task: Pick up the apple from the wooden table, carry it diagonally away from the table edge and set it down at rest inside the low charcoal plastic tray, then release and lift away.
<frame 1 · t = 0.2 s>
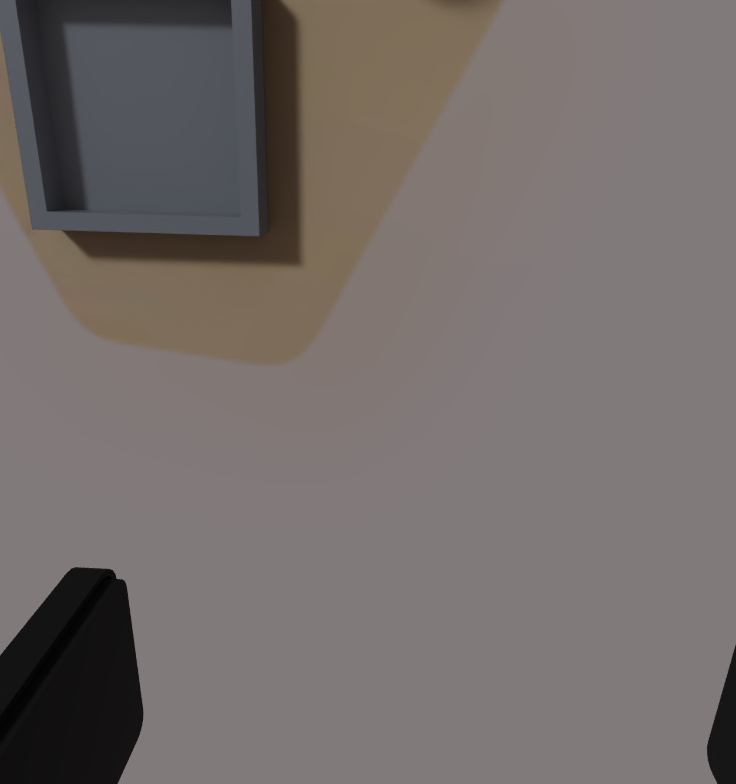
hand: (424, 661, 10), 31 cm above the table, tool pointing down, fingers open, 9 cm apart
tray: (151, 110, 36), on the table
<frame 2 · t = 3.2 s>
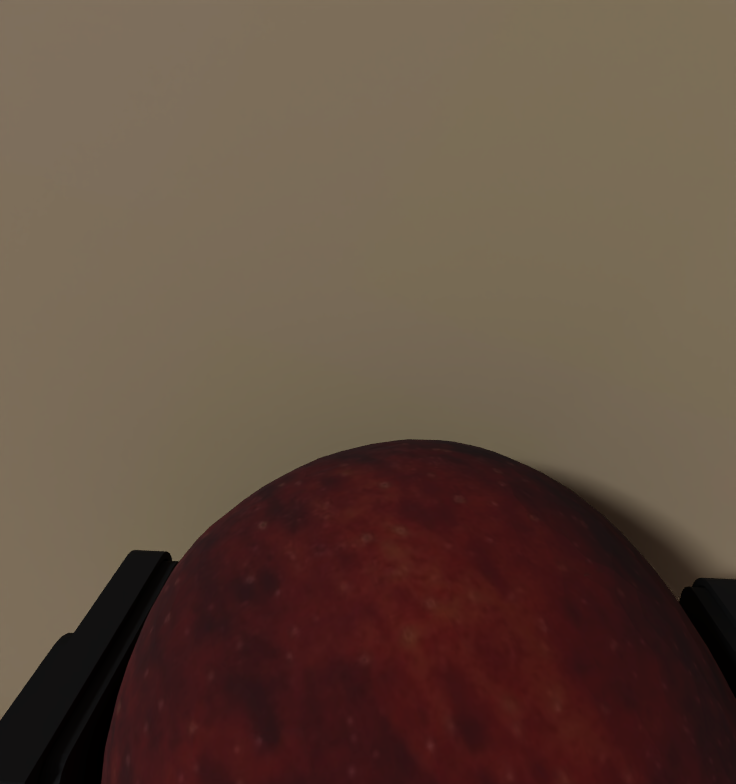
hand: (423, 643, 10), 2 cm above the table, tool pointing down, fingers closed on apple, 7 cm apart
apple: (412, 560, 12), on the table, touching gripper
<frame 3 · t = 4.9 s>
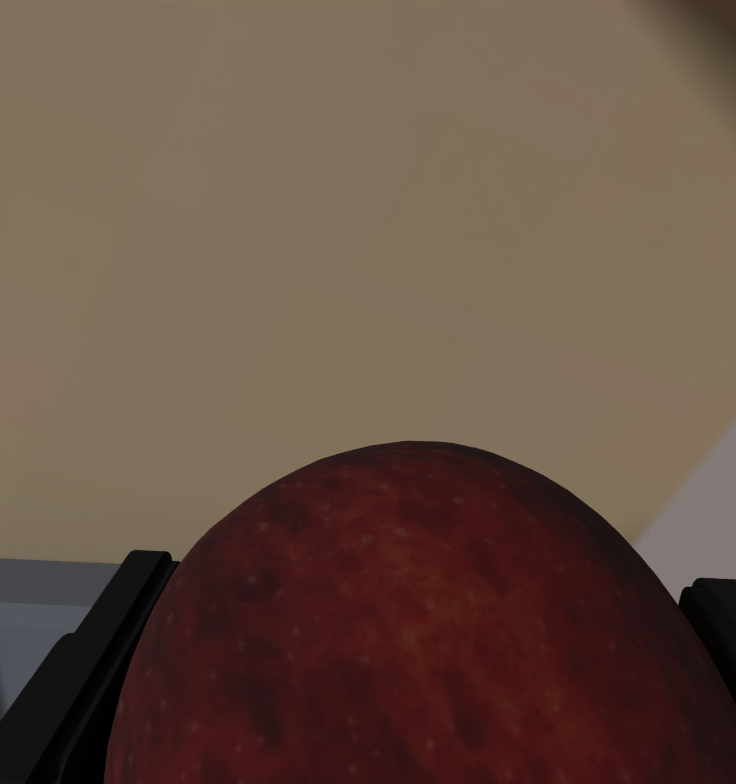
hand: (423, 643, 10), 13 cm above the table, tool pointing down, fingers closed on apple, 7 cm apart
apple: (412, 560, 12), point 11 cm above the table, touching gripper
tray: (107, 695, 27), on the table
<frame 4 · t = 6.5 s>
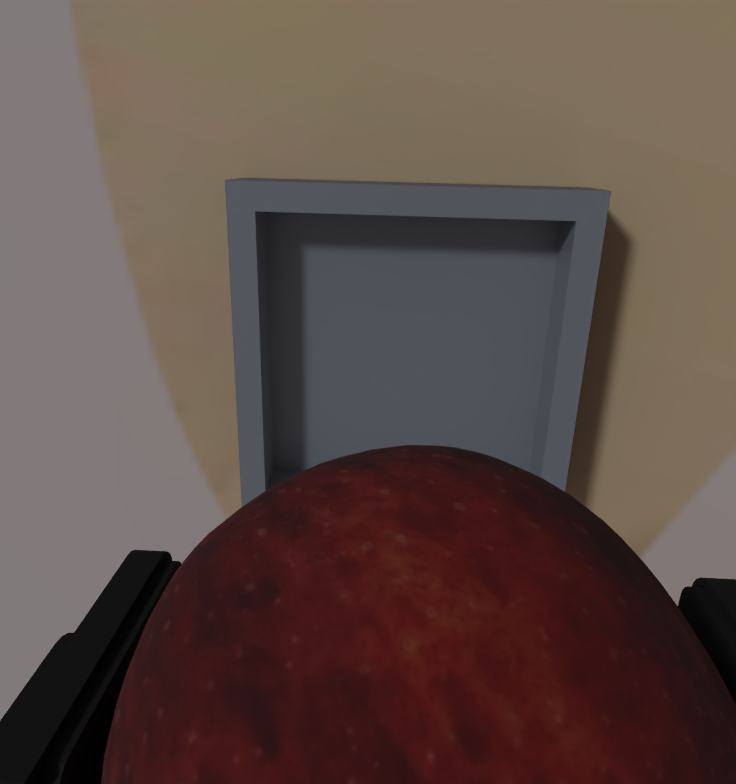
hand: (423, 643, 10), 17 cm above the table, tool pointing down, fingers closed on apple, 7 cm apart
apple: (412, 564, 12), point 15 cm above the table, touching gripper
tray: (406, 348, 26), on the table
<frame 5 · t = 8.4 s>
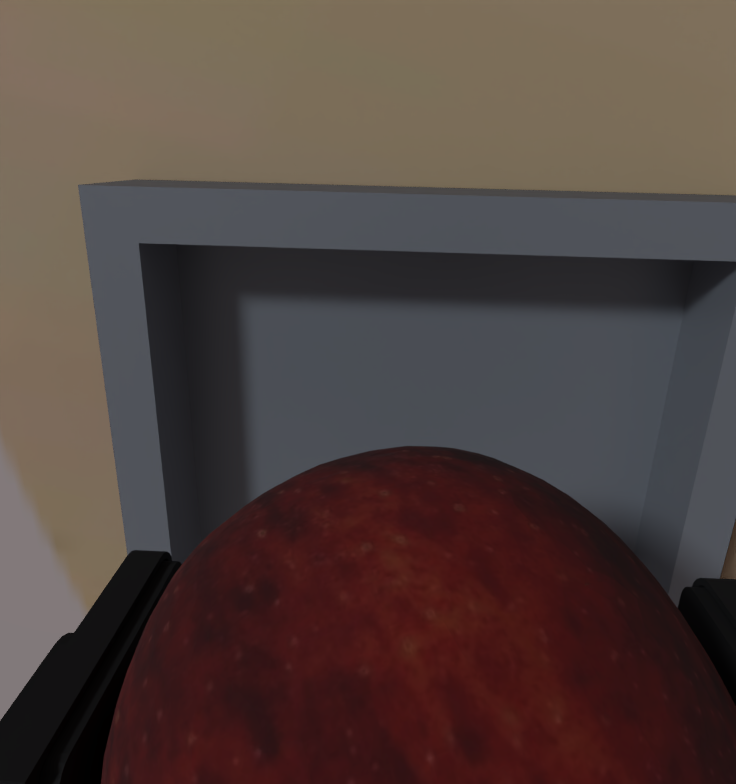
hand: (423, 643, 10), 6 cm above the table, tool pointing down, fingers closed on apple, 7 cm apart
apple: (412, 564, 12), point 4 cm above the table, touching gripper
tray: (417, 459, 16), on the table
when the fingers open (4 cm above the table, at t = 9.6 s): apple drops 1 cm, resting on tray.
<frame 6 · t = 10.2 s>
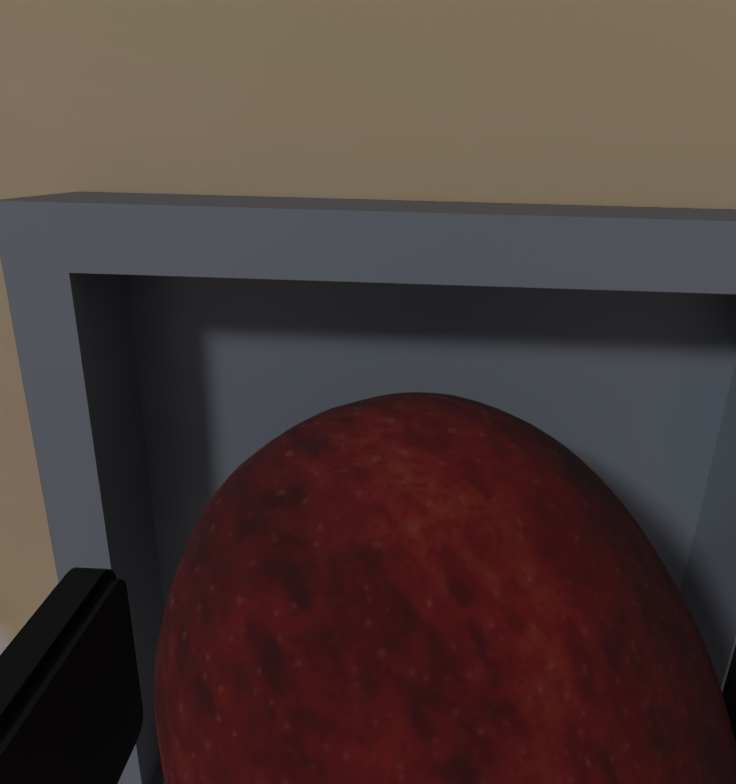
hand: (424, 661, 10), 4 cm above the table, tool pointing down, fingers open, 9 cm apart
apple: (412, 515, 13), resting on tray
tray: (417, 518, 13), on the table
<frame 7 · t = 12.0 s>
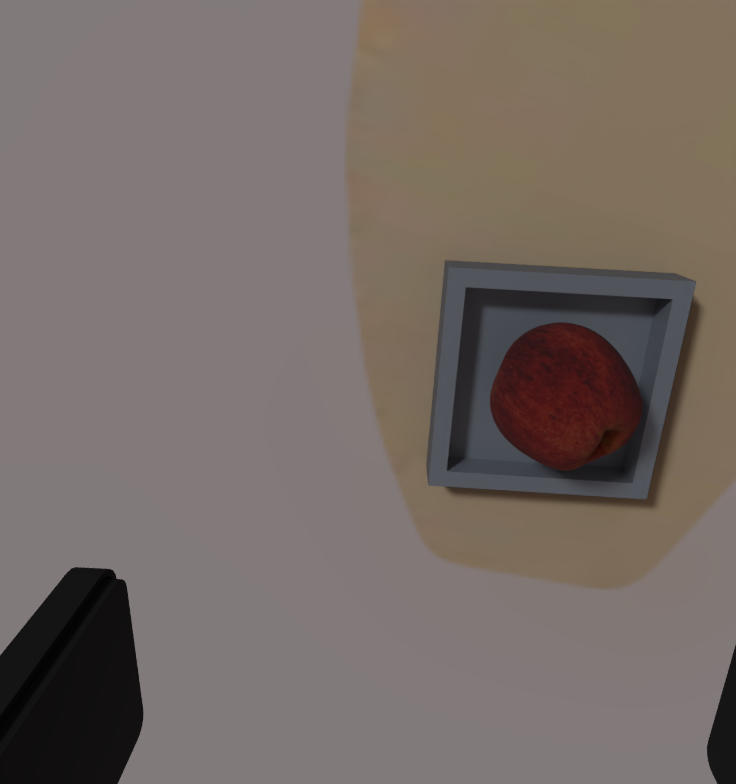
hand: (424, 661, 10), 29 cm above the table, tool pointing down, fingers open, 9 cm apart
apple: (543, 372, 37), resting on tray
tray: (543, 375, 38), on the table
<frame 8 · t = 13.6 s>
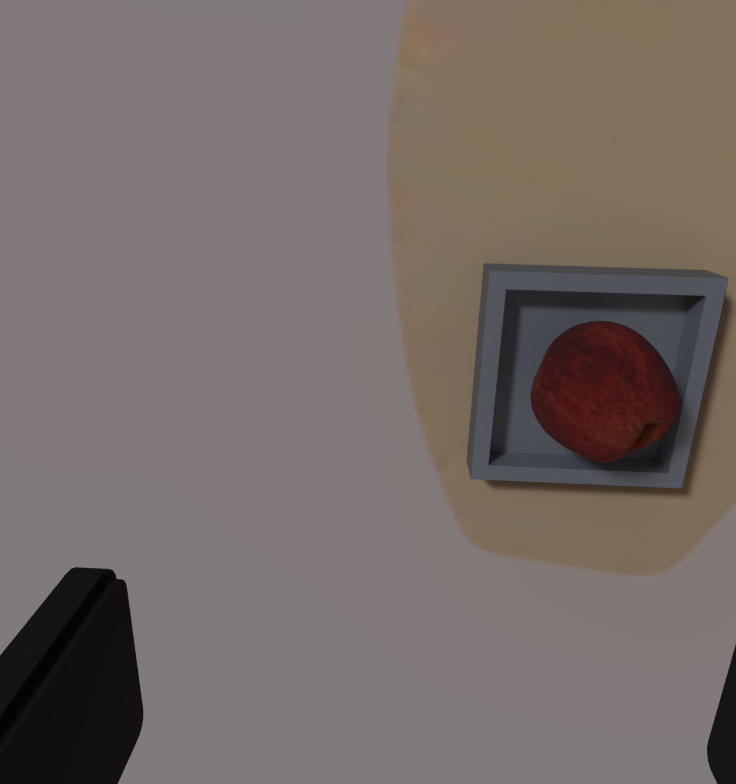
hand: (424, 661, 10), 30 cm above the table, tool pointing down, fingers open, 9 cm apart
apple: (579, 368, 39), resting on tray
tray: (579, 371, 39), on the table
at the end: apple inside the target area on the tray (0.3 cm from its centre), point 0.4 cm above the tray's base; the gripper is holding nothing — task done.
